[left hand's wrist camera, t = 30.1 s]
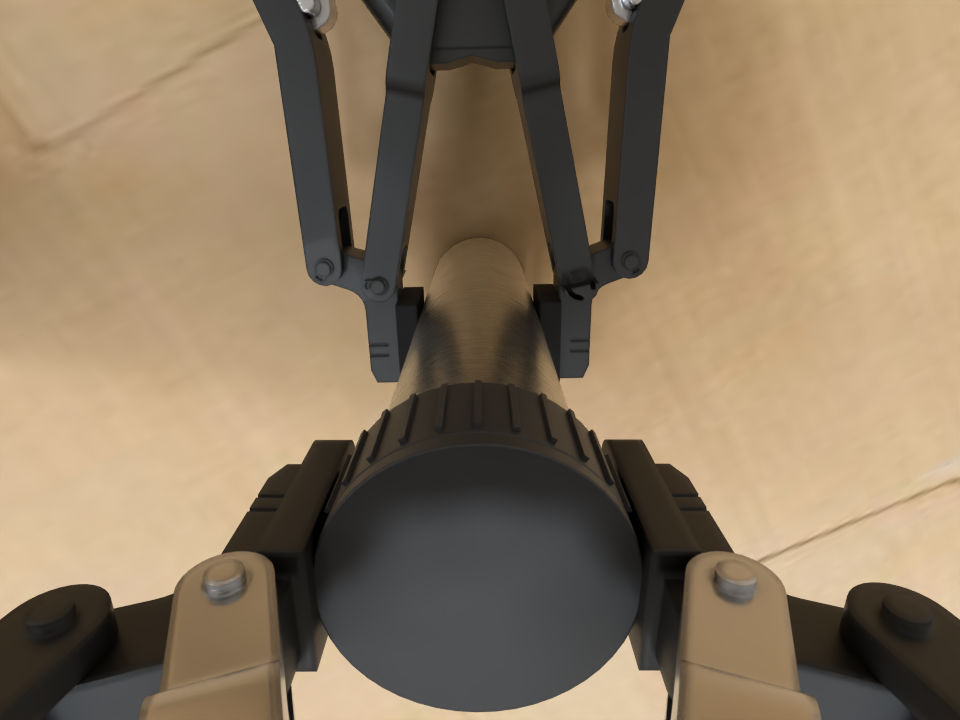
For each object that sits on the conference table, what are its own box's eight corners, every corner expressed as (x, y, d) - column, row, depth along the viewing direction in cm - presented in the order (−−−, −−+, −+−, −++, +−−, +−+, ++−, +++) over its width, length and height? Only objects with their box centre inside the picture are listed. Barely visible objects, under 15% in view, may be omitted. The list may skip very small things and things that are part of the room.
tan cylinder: (524, 236, 28) (613, 431, 9) (524, 324, 29) (601, 645, 11) (431, 238, 28) (336, 437, 9) (436, 327, 29) (362, 650, 11)
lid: (611, 361, 10) (646, 420, 8) (621, 602, 12) (652, 702, 10) (313, 393, 10) (271, 459, 8) (366, 625, 12) (342, 728, 10)
